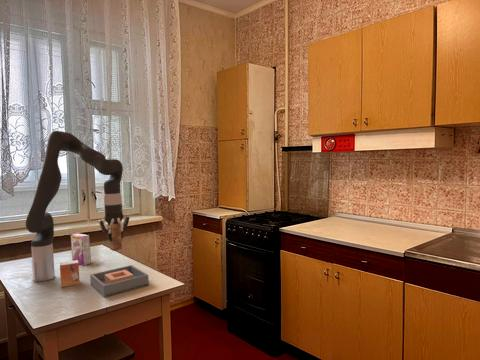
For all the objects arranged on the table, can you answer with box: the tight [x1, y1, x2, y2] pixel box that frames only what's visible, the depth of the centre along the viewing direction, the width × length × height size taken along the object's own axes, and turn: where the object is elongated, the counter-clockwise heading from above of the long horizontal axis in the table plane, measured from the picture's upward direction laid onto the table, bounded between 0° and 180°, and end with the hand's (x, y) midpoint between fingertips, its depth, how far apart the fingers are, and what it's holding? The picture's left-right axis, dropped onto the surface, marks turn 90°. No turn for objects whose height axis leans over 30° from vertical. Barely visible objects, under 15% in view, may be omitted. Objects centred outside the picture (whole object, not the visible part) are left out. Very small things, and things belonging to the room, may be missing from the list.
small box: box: [59, 260, 81, 288], centre depth 163 cm, size 8×6×10 cm
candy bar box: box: [70, 233, 92, 266], centre depth 195 cm, size 11×5×16 cm, turn 58°
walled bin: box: [89, 264, 150, 298], centre depth 159 cm, size 20×20×5 cm
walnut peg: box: [109, 223, 123, 252], centre depth 157 cm, size 4×4×12 cm
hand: (115, 240), depth 157 cm, fingers closed on walnut peg, 4 cm apart
